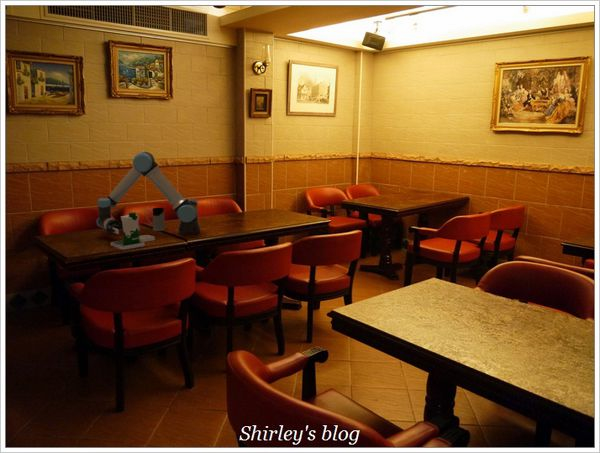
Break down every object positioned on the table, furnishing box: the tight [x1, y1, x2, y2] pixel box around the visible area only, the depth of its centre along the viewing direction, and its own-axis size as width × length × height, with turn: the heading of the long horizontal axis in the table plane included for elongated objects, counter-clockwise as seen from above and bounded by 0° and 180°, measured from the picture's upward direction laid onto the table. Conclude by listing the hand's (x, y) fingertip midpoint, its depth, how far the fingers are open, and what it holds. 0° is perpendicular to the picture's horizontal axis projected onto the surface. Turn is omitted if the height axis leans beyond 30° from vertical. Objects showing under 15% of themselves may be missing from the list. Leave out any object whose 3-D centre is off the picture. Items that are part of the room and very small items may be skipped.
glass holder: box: [145, 207, 166, 232], centre depth 362 cm, size 9×14×15 cm, turn 78°
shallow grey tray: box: [110, 239, 146, 251], centre depth 315 cm, size 15×15×2 cm
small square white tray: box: [139, 234, 156, 243], centre depth 330 cm, size 9×9×2 cm
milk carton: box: [120, 212, 140, 246], centre depth 313 cm, size 9×9×20 cm
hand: (128, 230), depth 311 cm, fingers open, 13 cm apart
